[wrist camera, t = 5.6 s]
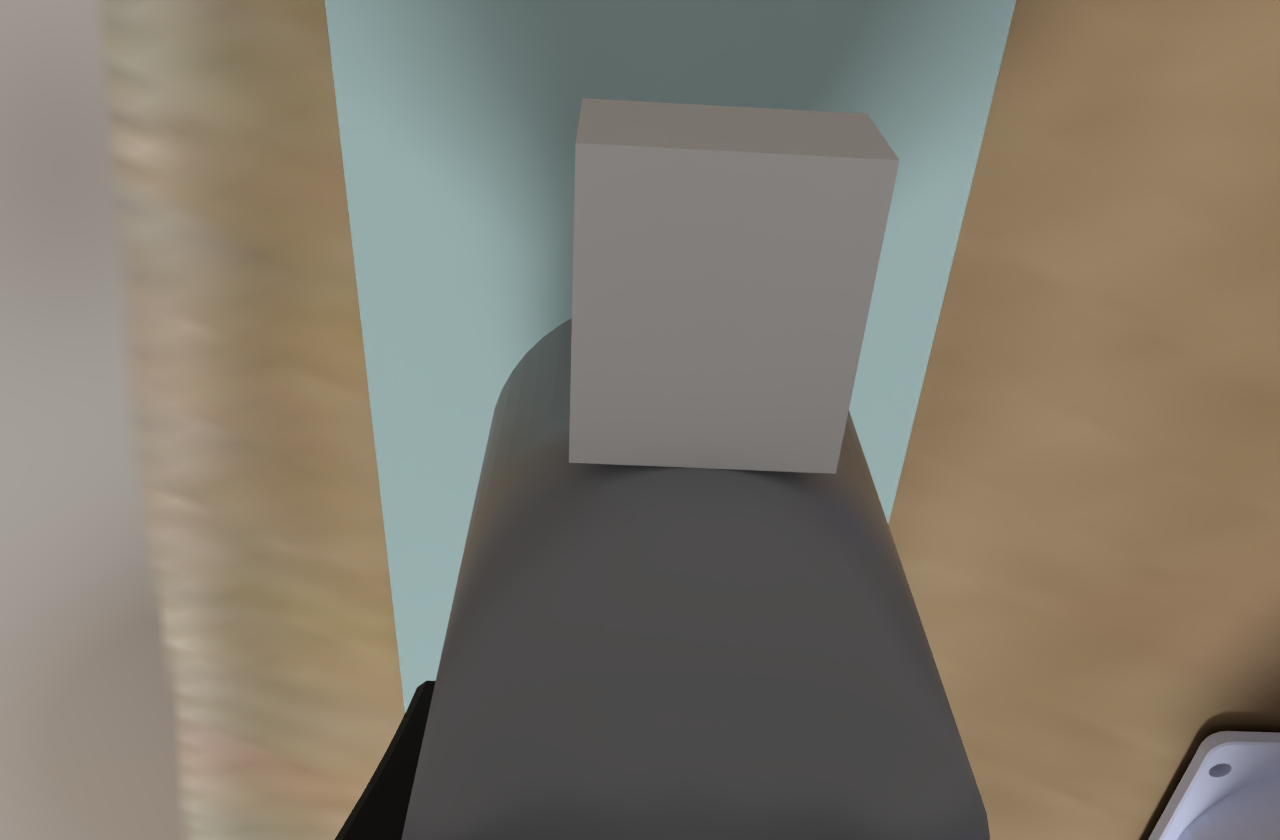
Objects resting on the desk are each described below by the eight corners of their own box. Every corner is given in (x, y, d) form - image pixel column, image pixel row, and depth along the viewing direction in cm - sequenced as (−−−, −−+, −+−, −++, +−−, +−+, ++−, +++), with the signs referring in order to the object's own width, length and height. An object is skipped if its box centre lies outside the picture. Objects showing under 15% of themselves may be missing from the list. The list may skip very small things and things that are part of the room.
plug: (761, 880, 15) (809, 1292, 11) (503, 873, 15) (454, 1287, 11) (934, 54, 9) (1216, 318, 4) (476, 28, 9) (325, 274, 4)
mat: (833, 710, 24) (837, 731, 23) (410, 698, 23) (406, 718, 23) (1040, -165, 14) (1055, -163, 13) (313, -210, 13) (301, -209, 13)
